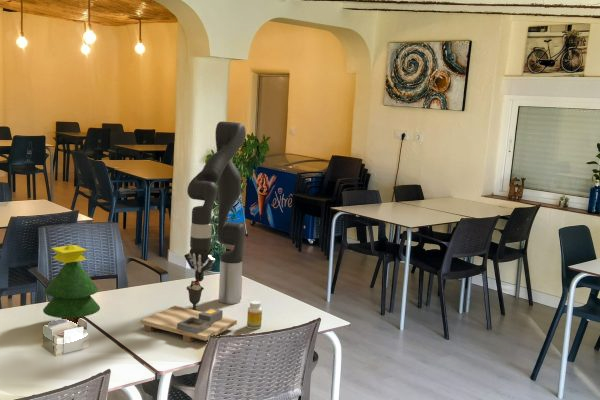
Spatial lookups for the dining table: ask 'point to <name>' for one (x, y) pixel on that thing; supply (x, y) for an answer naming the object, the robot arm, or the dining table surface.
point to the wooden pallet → (177, 314)
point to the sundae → (194, 293)
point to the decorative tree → (71, 287)
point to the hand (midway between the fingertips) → (199, 281)
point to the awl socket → (187, 327)
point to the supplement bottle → (254, 315)
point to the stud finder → (211, 315)
